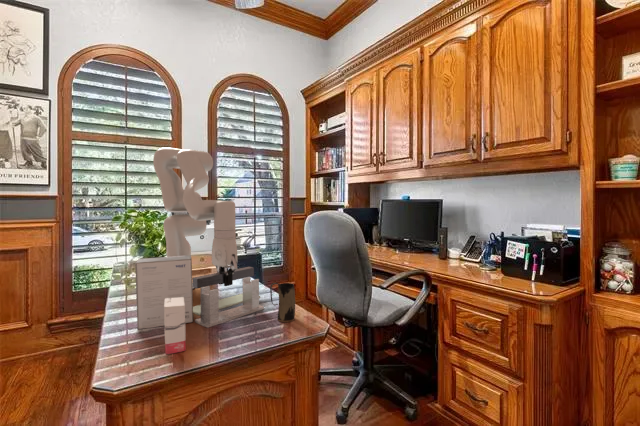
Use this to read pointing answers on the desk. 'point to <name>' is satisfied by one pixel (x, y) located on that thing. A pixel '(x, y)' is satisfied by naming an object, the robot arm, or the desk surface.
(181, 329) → the ink box
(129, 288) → the desk surface
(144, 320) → the hard drive box
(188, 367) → the desk surface
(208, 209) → the robot arm
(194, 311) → the mat
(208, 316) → the rack
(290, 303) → the mug
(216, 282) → the rail
